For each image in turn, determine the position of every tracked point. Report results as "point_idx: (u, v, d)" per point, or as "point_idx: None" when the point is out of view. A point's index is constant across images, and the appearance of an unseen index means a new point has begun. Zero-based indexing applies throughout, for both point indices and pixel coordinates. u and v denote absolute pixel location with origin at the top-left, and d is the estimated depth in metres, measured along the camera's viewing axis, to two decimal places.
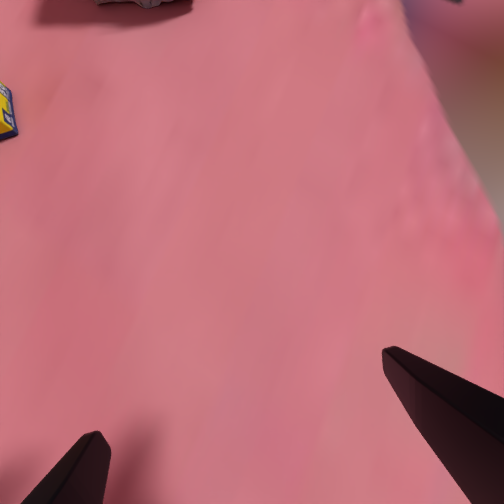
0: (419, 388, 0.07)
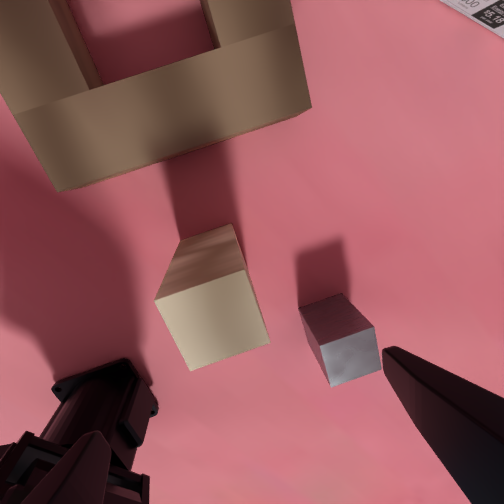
0: (419, 388, 0.07)
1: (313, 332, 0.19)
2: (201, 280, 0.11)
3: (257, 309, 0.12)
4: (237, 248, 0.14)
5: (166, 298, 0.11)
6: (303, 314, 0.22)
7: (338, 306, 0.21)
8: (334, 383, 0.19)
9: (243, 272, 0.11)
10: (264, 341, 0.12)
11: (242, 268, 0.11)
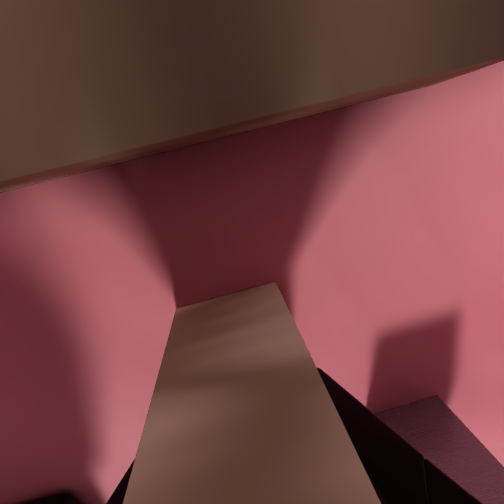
0: None
1: None
2: None
3: None
4: (343, 433, 0.05)
5: None
6: None
7: (442, 429, 0.12)
8: None
9: None
10: None
11: None
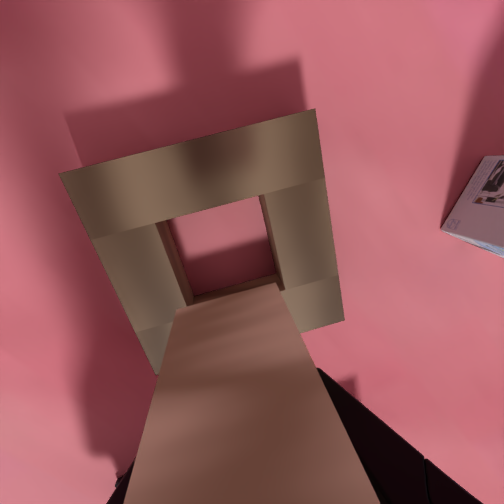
0: None
1: None
2: None
3: None
4: (344, 435, 0.05)
5: None
6: None
7: None
8: None
9: None
10: None
11: None
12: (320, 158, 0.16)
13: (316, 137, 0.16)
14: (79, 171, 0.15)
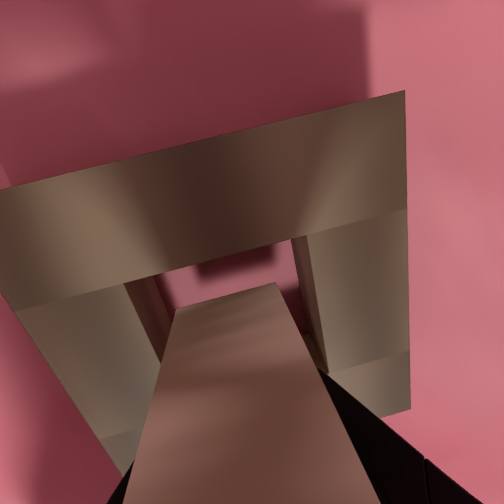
0: None
1: None
2: None
3: None
4: (344, 435, 0.05)
5: None
6: None
7: None
8: None
9: None
10: None
11: None
12: (403, 176, 0.10)
13: (401, 141, 0.09)
14: None
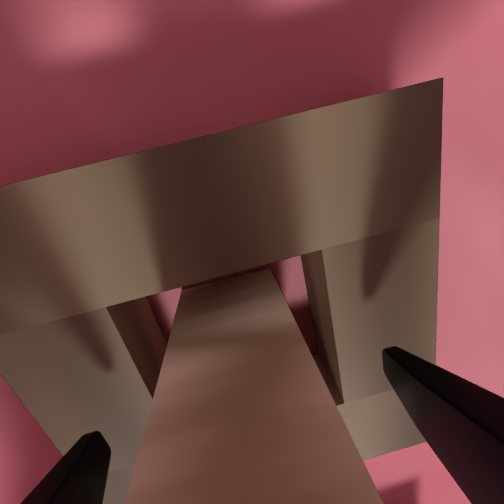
0: (419, 388, 0.07)
1: None
2: None
3: None
4: (316, 371, 0.06)
5: None
6: None
7: None
8: None
9: None
10: None
11: None
12: (437, 181, 0.08)
13: (436, 139, 0.08)
14: None
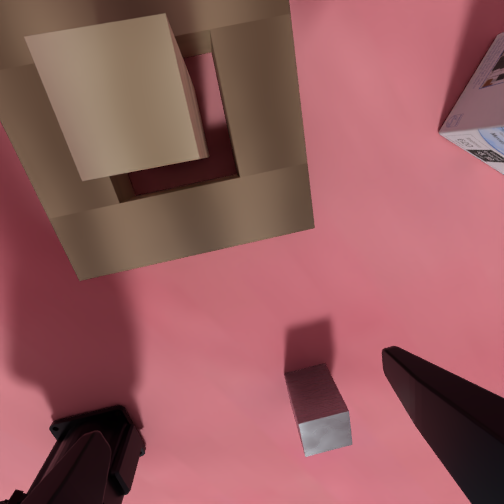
0: (419, 388, 0.07)
1: (294, 406, 0.21)
2: (102, 30, 0.08)
3: (182, 94, 0.08)
4: (178, 51, 0.10)
5: (44, 38, 0.07)
6: (288, 382, 0.24)
7: (320, 378, 0.23)
8: (308, 453, 0.21)
9: (163, 18, 0.08)
10: (190, 154, 0.09)
11: None
12: None
13: None
14: None
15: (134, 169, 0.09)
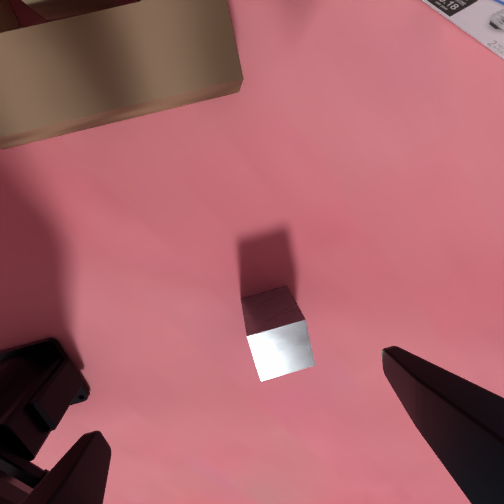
0: (419, 388, 0.07)
1: (246, 322, 0.18)
2: None
3: None
4: None
5: None
6: (243, 304, 0.21)
7: (279, 298, 0.20)
8: (264, 377, 0.18)
9: None
10: None
11: None
12: None
13: None
14: None
15: None
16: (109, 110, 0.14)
